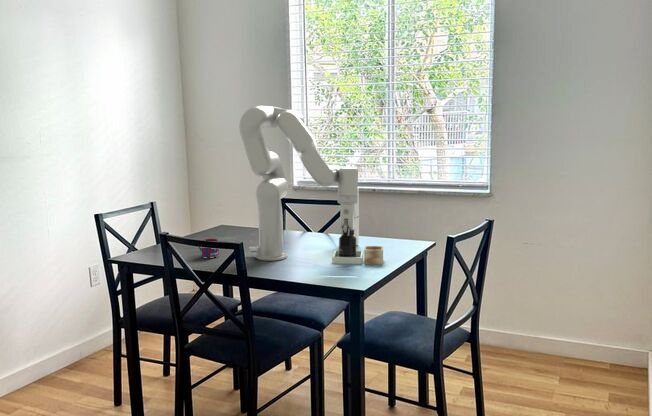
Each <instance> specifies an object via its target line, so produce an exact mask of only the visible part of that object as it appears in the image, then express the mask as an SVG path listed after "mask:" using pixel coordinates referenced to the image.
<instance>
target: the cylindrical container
mask: <svg viewBox="0 0 652 416" xmlns="http://www.w3.org/2000/svg"><path fill="white" fill-rule="evenodd" d="M359 197H360V188H359V187H358V194H357V204H355V226H354V236H355V237H356V239H357V244H356V245H358V244H359V243H360V241H359V239H360V236H359V235H360V229H359V228H360V226H359V225H360V224H359V223H360V221H359V220H360V210H359V209H360V208H359V206H360V198H359ZM359 245H360V244H359ZM359 245H358V246H359Z"/></svg>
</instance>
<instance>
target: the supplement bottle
mask: <svg viewBox="0 0 652 416" xmlns="http://www.w3.org/2000/svg"><path fill="white" fill-rule="evenodd" d="M349 235H350V245H349V246H342V245H341V236H340V237H339V238H338V250H339V257H356V251H357V246H356V244H357V239H356V237H355V236H354V229H353V230H352V229H350V231H349Z"/></svg>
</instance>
